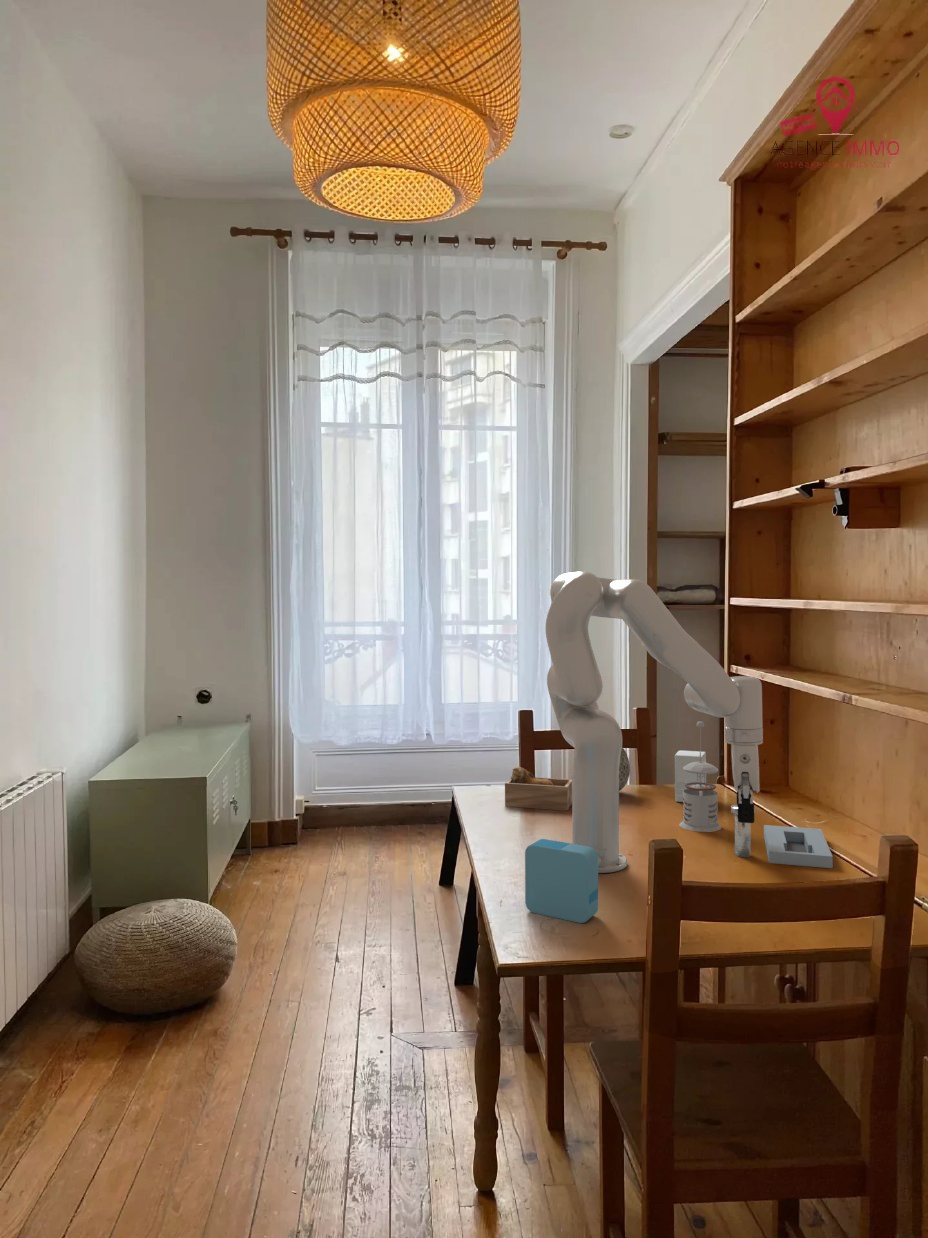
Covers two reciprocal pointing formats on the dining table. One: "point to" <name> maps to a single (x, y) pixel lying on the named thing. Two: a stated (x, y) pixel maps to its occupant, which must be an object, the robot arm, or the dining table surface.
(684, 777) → the supplement box
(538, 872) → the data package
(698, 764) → the french press
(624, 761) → the decorative egg
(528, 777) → the lion figurine
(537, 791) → the open wooden box
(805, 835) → the keyhole board
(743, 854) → the metal peg
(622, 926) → the dining table surface
